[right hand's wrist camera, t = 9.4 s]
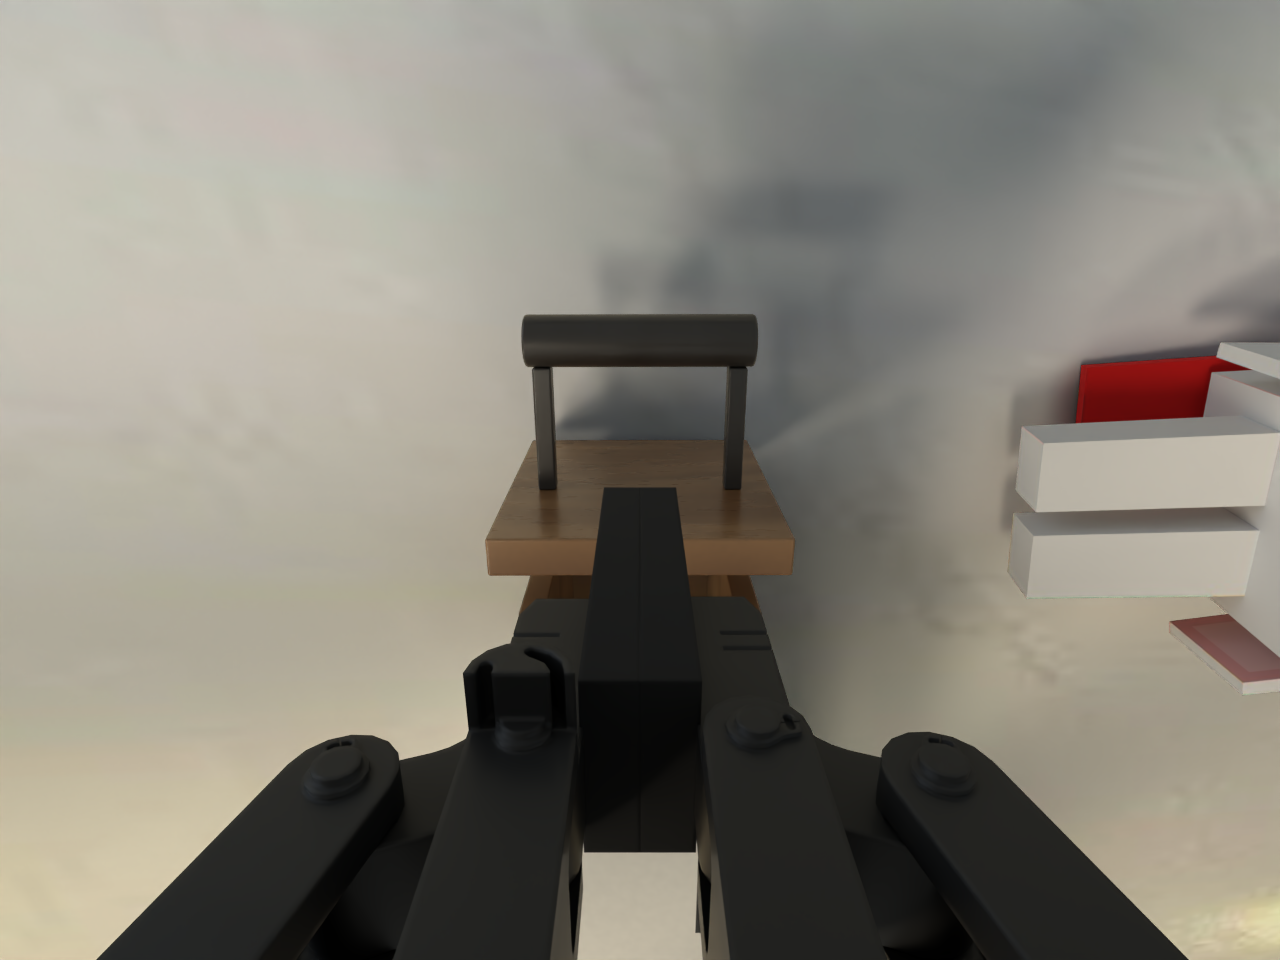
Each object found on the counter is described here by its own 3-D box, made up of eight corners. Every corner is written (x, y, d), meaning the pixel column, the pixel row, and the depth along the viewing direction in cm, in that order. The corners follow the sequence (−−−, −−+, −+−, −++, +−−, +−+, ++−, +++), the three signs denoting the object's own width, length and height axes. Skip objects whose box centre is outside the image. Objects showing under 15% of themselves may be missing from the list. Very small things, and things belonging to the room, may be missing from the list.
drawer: (524, 296, 28) (466, 335, 18) (754, 296, 28) (812, 334, 18) (552, 789, 36) (522, 985, 27) (728, 789, 36) (759, 984, 27)
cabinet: (534, 642, 34) (485, 843, 23) (745, 642, 34) (796, 842, 23) (552, 936, 41) (521, 1198, 30) (728, 935, 41) (761, 1197, 30)
